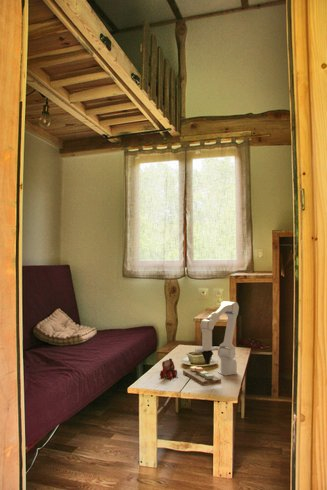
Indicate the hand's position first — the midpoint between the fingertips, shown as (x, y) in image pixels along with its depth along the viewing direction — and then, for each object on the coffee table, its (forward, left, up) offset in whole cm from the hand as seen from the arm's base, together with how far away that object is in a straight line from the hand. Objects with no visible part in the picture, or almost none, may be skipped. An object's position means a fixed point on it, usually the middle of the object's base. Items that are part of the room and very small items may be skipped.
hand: (207, 363), depth 232 cm
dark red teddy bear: (+18, -15, -10) cm, 25 cm away
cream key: (+1, -15, -9) cm, 17 cm away
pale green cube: (+1, -3, -9) cm, 9 cm away
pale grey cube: (+1, +3, -9) cm, 10 cm away
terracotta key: (+1, -9, -8) cm, 12 cm away
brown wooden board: (+1, -6, -10) cm, 11 cm away
